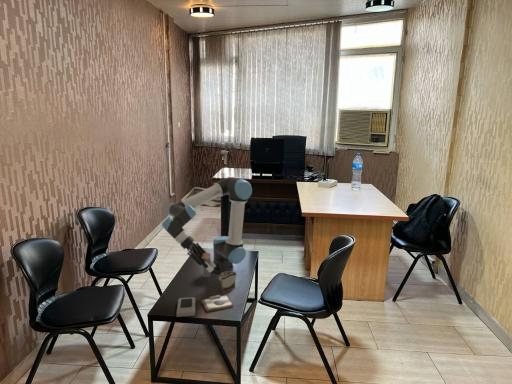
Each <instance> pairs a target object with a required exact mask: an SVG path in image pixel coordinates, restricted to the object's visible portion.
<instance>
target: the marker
mask: <svg viewBox="0 0 512 384" xmlns="http://www.w3.org/2000/svg"><path fill="white" fill-rule="evenodd" d="M202 259H203V260H204V261H206V262H207V263H208V264H209V265H210V260H211V252H206V253H203V254H202ZM211 273H212V272H209V271H208V270H207V269H206V268H205V267H204V266H203V265H202V277H203V278H209V277H211V275H212V274H211Z"/></svg>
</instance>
